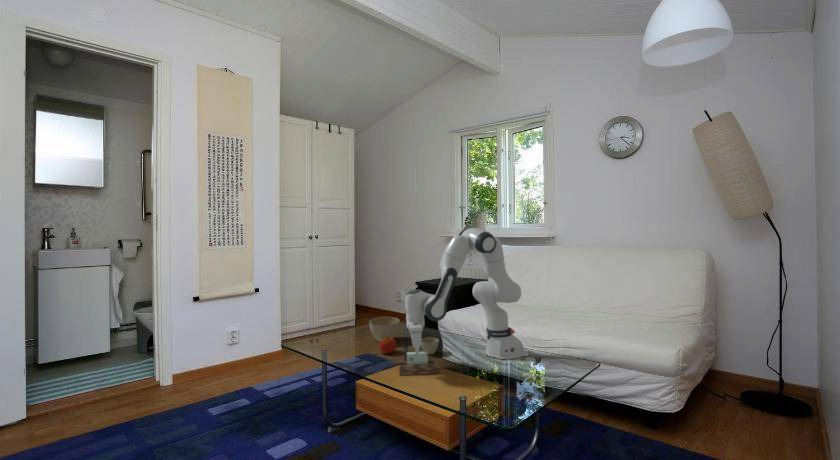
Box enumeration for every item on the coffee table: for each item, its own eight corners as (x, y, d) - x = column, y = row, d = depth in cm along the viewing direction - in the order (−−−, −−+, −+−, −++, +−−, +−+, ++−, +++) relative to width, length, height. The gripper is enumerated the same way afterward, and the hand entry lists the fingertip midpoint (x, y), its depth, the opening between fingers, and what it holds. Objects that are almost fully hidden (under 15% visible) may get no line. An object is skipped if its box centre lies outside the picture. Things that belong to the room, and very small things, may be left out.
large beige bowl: (366, 339, 271) (365, 319, 270) (393, 334, 279) (392, 315, 278) (376, 347, 255) (374, 327, 254) (404, 342, 262) (403, 322, 261)
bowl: (437, 356, 236) (437, 343, 236) (419, 356, 238) (418, 343, 238) (440, 350, 246) (440, 337, 245) (422, 349, 248) (422, 337, 248)
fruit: (399, 353, 243) (398, 335, 242) (382, 356, 240) (381, 338, 239) (393, 348, 252) (392, 331, 251) (377, 351, 249) (376, 333, 248)
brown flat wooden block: (435, 366, 222) (434, 358, 222) (436, 372, 214) (436, 364, 214) (399, 368, 221) (399, 360, 221) (399, 375, 213) (399, 367, 213)
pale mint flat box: (427, 366, 220) (427, 351, 219) (428, 369, 217) (427, 353, 216) (407, 368, 219) (406, 352, 218) (407, 370, 216) (407, 354, 215)
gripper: (408, 317, 227) (410, 343, 228) (409, 329, 207) (411, 358, 208) (420, 316, 227) (422, 342, 229) (422, 328, 207) (424, 357, 208)
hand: (417, 350), depth 218 cm, fingers open, 8 cm apart
